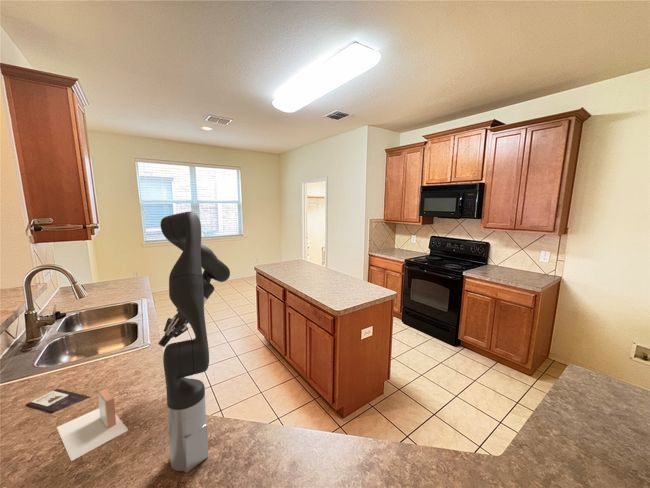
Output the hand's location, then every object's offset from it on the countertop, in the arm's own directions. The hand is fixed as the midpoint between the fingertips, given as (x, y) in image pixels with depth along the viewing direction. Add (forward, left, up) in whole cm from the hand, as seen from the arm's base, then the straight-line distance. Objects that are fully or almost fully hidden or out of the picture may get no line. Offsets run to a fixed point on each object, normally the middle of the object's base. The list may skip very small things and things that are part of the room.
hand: (161, 345), depth 96 cm
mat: (+1, +20, -20) cm, 29 cm away
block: (+1, +16, -19) cm, 25 cm away
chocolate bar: (+29, +24, -21) cm, 43 cm away
